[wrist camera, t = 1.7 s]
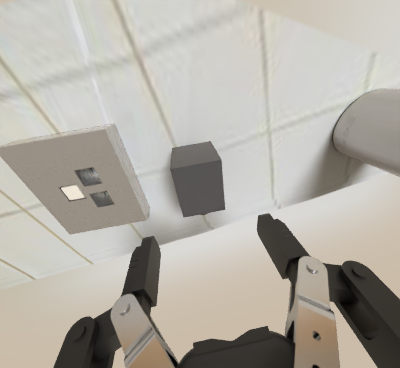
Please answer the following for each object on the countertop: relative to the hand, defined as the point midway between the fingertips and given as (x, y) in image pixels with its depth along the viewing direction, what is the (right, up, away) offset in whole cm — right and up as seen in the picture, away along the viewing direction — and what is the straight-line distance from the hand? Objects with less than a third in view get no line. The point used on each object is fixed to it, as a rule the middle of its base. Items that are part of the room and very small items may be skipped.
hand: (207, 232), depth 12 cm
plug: (-1, +7, +12) cm, 14 cm away
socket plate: (-16, +4, +11) cm, 20 cm away
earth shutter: (-17, +3, +9) cm, 20 cm away
